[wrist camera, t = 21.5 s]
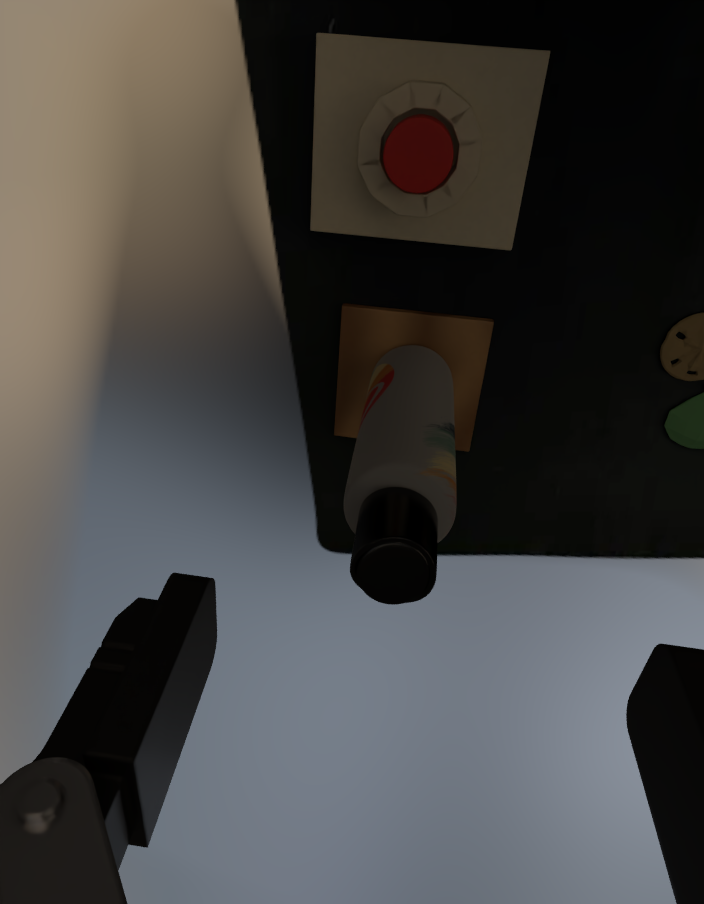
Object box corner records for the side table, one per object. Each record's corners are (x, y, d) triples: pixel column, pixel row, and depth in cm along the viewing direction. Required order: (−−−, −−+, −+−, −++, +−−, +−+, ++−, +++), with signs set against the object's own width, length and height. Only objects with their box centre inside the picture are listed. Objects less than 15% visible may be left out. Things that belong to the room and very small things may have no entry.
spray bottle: (357, 395, 46) (307, 595, 29) (394, 328, 43) (361, 507, 26) (428, 429, 47) (418, 643, 30) (468, 366, 44) (484, 563, 27)
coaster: (335, 431, 48) (334, 435, 48) (343, 302, 43) (341, 305, 43) (468, 447, 48) (468, 451, 47) (493, 318, 42) (494, 322, 42)
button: (382, 184, 36) (380, 190, 34) (389, 111, 34) (386, 113, 32) (448, 190, 35) (448, 196, 34) (458, 117, 33) (458, 120, 32)
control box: (316, 222, 41) (304, 238, 37) (323, 33, 35) (310, 31, 32) (508, 241, 40) (514, 259, 36) (545, 50, 34) (556, 51, 31)
